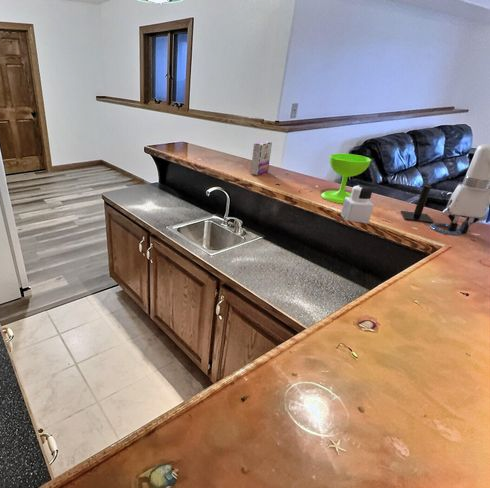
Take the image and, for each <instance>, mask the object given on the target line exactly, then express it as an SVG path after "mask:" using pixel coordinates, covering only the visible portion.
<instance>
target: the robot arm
mask: <svg viewBox="0 0 490 488" xmlns="http://www.w3.org/2000/svg"><path fill="white" fill-rule="evenodd" d="M468 166H469V167H468V168H467V171H466V174H465V176H464V178H463V181H462V183H458V184H457V186H456V188H455V189H454V191H453V193H452V194H451V196H450V197H449V200H448V202H447V203H446V206H445V208H444V209H443V210H442V211H441V214H442V215H443V216H445V217H447V218H448V219H449V220H450V223H449V225H450V226H449V228H447V231H455V230H456V228H458V226H459V223H458V221H459V219H460V217H466V218H465V219H464V221H463V222H461V225H460V227H459V229H460V230H461V231H462V233H461V235H465V234H466V233H467V232H468V230H469V227H470V226H472V225H473V224H475V223H477V222H483V221H486V220H487V212H488V210H489V207H490V143H482V144H479V145H478V146H477V147H476V149H475V152H474V154H473V157H472V159H471V161H470V164H469V165H468Z"/></svg>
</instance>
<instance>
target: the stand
mask: <svg viewBox="0 0 490 488" xmlns="http://www.w3.org/2000/svg"><path fill="white" fill-rule="evenodd" d="M431 189H432V185H428V184H424V185H423V186H422V189H421V192H420V195H419V197H418V200H417V203H416V205H415V208H414V211H408V210H407V211H406V210H400V214H401V216H402V218H403V219H404V221H408V222H409V221H410V222H417V223H423V224H429V225H431V224H433V223H434V221H433V219H431V217H430V215H429V214H428V213H424V212H423V211H424V208H425V205H426V202H427V200H428V197H429V195H430V192H431Z"/></svg>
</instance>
